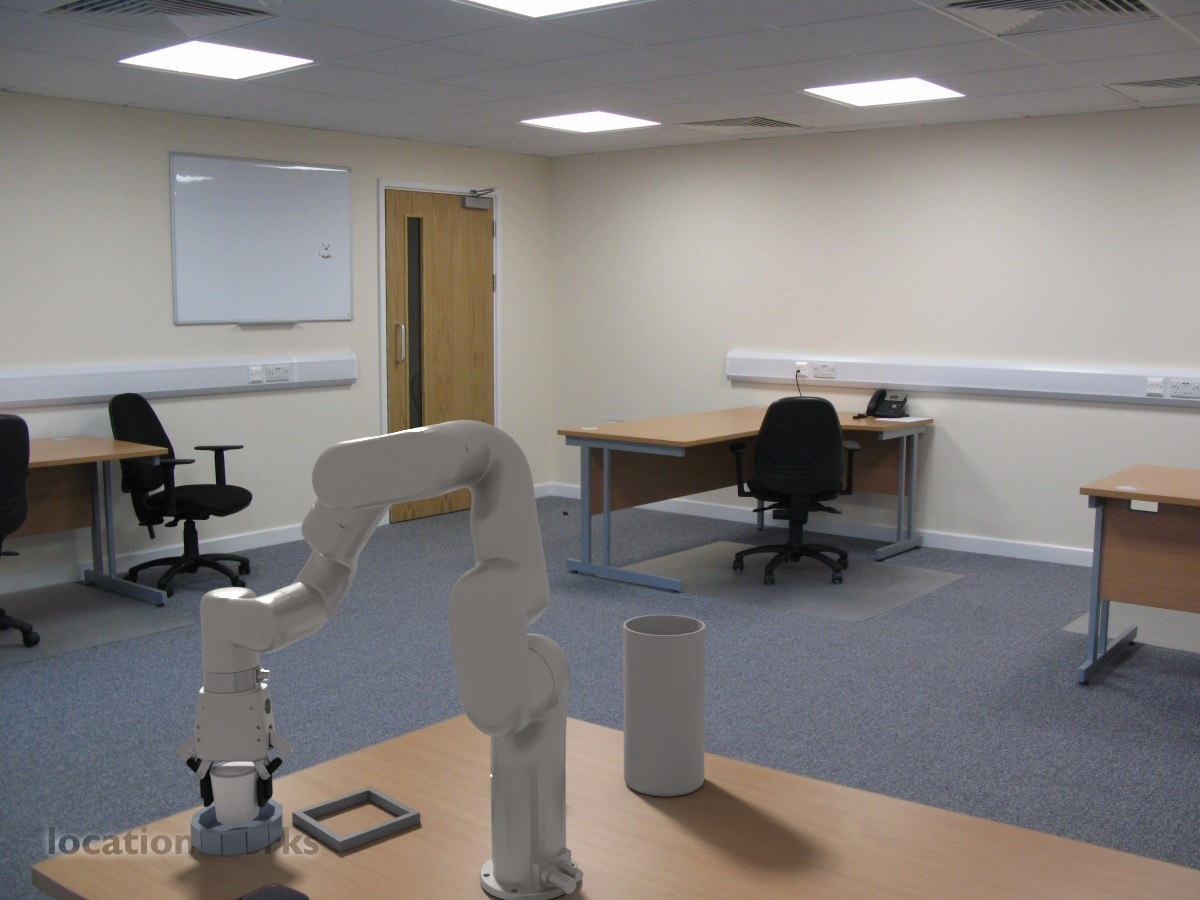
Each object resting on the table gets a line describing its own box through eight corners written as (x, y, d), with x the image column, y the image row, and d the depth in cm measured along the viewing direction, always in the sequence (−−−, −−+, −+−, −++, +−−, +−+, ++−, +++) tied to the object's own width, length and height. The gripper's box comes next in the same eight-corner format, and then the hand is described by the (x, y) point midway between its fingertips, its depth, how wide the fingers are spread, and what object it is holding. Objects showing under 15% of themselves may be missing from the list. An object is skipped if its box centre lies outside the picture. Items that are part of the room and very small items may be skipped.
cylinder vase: (661, 805, 164) (661, 640, 161) (607, 779, 173) (606, 623, 171) (721, 784, 171) (722, 626, 169) (666, 760, 181) (666, 610, 179)
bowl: (298, 835, 154) (297, 815, 154) (216, 864, 146) (215, 842, 146) (258, 809, 163) (257, 789, 163) (177, 835, 155) (176, 814, 154)
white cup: (271, 806, 157) (269, 758, 157) (251, 827, 151) (249, 777, 150) (224, 804, 158) (222, 757, 157) (203, 825, 151) (200, 776, 151)
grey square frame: (420, 822, 158) (420, 812, 158) (340, 852, 149) (339, 841, 149) (370, 795, 168) (370, 786, 168) (292, 822, 159) (292, 812, 159)
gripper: (302, 670, 156) (306, 792, 158) (180, 670, 156) (185, 791, 158) (286, 687, 148) (291, 815, 150) (158, 687, 149) (164, 814, 151)
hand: (237, 802), depth 154 cm, fingers closed on white cup, 6 cm apart
